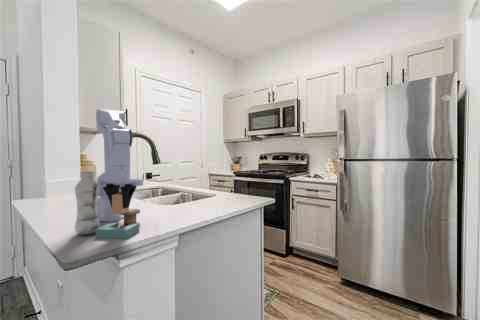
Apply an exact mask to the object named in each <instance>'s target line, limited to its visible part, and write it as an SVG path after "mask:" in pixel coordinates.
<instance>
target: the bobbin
mask: <svg viewBox="0 0 480 320" xmlns="http://www.w3.org/2000/svg"><path fill="white" fill-rule="evenodd" d="M140 213H141V209H139V208H129V211H128V212H126V213H123V214H120V215H124V218H123V223H122V224H120V225H119V228H124V227H126V226H128V225H130V224H132V223H134V224H139V228H140V226H141V223H140V222H137V215H138V214H140Z"/></svg>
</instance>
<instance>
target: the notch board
mask: <svg viewBox="0 0 480 320" xmlns="http://www.w3.org/2000/svg"><path fill="white" fill-rule="evenodd" d="M138 232H140V227H139V224H134V223H132V224H130V225H128V226H126V227H124V228H120V227H119V223H118V222H109V223H107V224H105V225H102V226H99V228H97V229H96V232H95V238H103V239H105V238H106V239H128V238H130V237H132V236H133V235H135V234H137V233H138Z"/></svg>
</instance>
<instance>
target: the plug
mask: <svg viewBox="0 0 480 320" xmlns="http://www.w3.org/2000/svg"><path fill="white" fill-rule="evenodd" d="M129 209H130V206H129V207H128V208H123V197H122V192H121V191H120V192H119V193H118V194H114V195H112V214H123V213H126V212H128V211H129Z"/></svg>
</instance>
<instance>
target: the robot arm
mask: <svg viewBox="0 0 480 320" xmlns="http://www.w3.org/2000/svg"><path fill="white" fill-rule="evenodd" d="M95 121H96V129H97V131H98V132H99V133H101V134H102V137H103V152H104V153H103V154H104V155H103V156H104V159H103V160H104V172H103V173H101V174H100V175H98V177H97V179H96V182H97V184H98V186H99V193H98V201H97V211H98V218H99V222H116V221H119V220H121V219H124V215H120V214H112V195H114V194H118V193H119V192H120V191H121V192H122V197H123V208H128V207H129V208H130V205H131V201H132V199H133V195H134V193H135V192H136V189H137V187H141V186H143V185H144V179H141V178H131V147H132V145H133V132H132V129H130V128H127V126H126V124H125V123H126V114H125V112H124V110H114V109H113V110H111V109H106V108H105V109H103V108H97V109H96V111H95Z"/></svg>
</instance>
